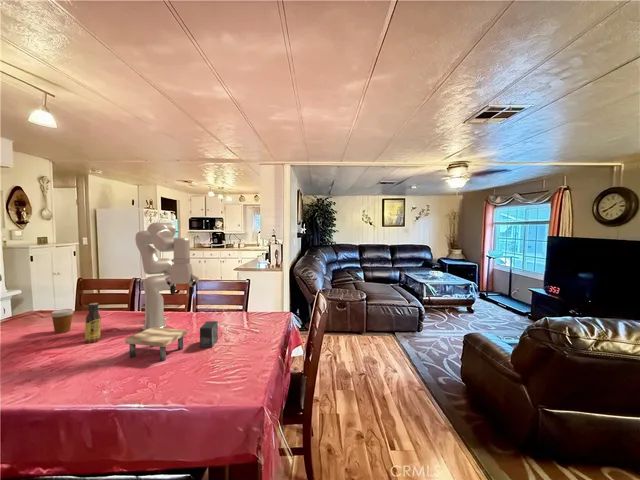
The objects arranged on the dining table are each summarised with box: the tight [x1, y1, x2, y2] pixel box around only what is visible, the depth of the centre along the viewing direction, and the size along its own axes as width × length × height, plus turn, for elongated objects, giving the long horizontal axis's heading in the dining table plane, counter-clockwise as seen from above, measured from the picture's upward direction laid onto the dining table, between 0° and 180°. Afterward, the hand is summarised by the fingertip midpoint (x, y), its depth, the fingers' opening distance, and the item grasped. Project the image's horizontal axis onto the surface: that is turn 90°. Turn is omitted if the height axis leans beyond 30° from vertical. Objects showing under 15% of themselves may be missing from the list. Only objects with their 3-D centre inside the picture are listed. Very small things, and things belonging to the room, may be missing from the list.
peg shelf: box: [124, 327, 188, 362], centre depth 131 cm, size 16×20×9 cm
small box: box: [199, 320, 219, 349], centre depth 143 cm, size 11×6×10 cm, turn 5°
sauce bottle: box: [84, 302, 102, 344], centre depth 143 cm, size 7×6×20 cm
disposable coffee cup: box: [50, 308, 75, 335], centre depth 155 cm, size 10×10×12 cm
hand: (182, 294), depth 142 cm, fingers open, 9 cm apart
